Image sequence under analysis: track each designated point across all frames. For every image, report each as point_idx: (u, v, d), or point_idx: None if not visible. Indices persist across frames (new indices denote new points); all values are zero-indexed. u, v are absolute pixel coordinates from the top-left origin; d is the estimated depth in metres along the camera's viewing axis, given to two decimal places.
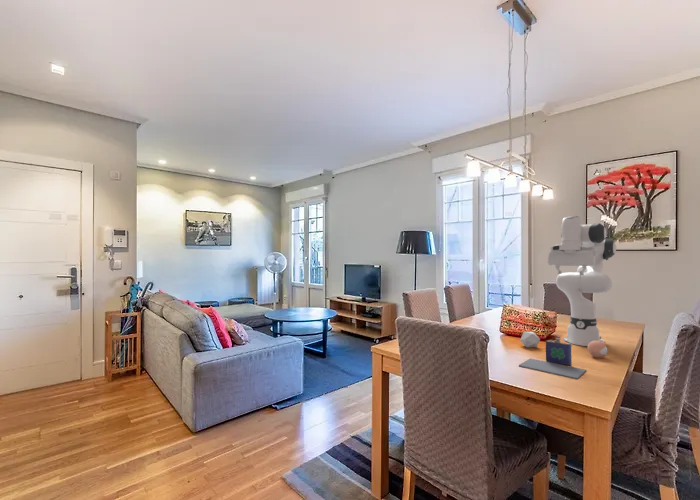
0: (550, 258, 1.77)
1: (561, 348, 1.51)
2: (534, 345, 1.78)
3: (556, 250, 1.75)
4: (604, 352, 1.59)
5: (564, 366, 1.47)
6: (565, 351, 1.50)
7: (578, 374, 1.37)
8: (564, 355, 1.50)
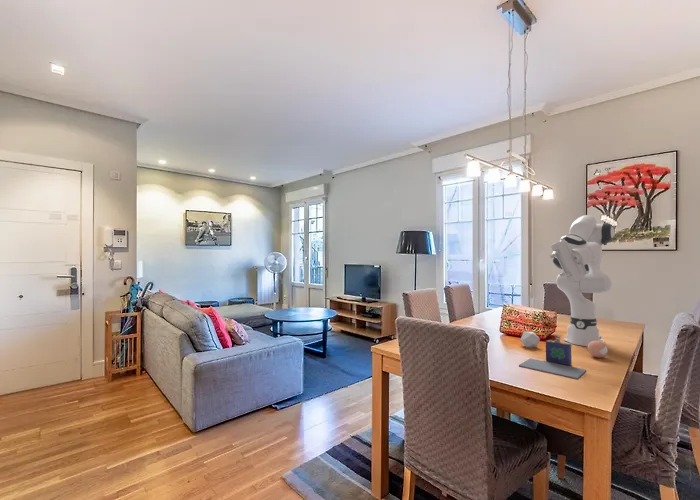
0: None
1: (561, 348, 1.51)
2: (534, 345, 1.78)
3: None
4: (604, 352, 1.59)
5: (564, 366, 1.47)
6: (565, 351, 1.50)
7: (578, 374, 1.37)
8: (564, 355, 1.50)
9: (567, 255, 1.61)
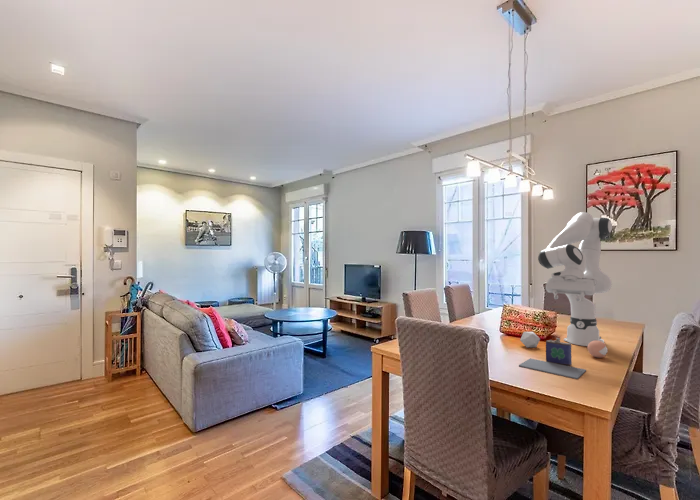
0: (549, 283, 1.72)
1: (561, 348, 1.51)
2: (534, 345, 1.78)
3: (557, 276, 1.72)
4: (604, 352, 1.59)
5: (564, 366, 1.47)
6: (565, 351, 1.50)
7: (578, 374, 1.37)
8: (564, 355, 1.50)
9: None
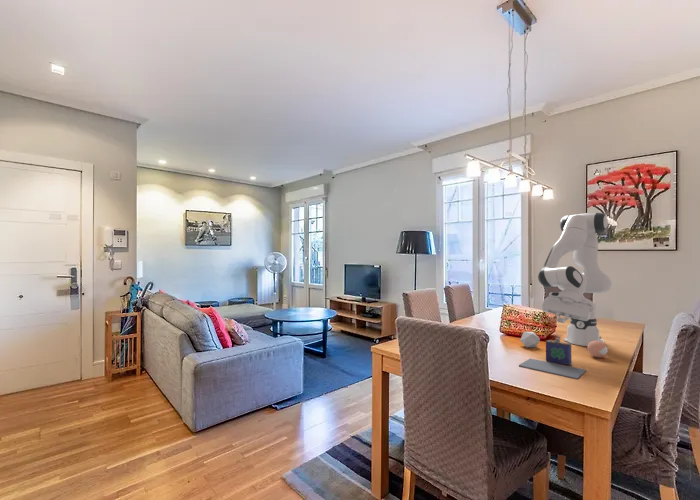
0: (545, 302, 1.72)
1: (561, 348, 1.51)
2: (534, 345, 1.78)
3: (554, 297, 1.71)
4: (604, 352, 1.59)
5: (564, 366, 1.47)
6: (565, 351, 1.50)
7: (578, 374, 1.37)
8: (564, 355, 1.50)
9: None
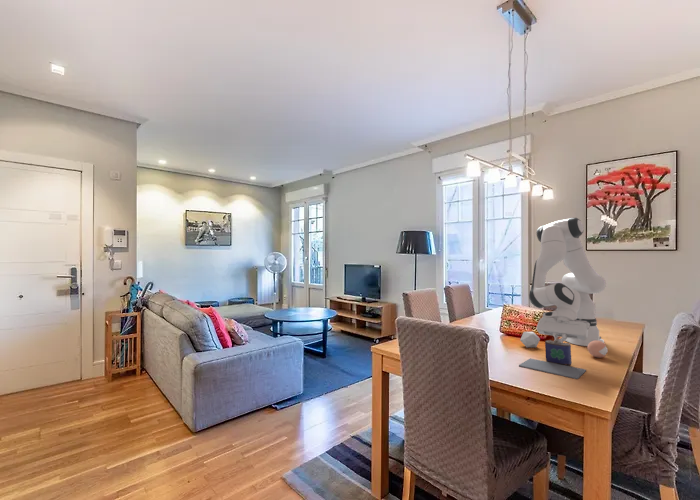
0: (540, 323, 1.63)
1: (560, 349, 1.50)
2: (534, 345, 1.78)
3: (548, 317, 1.62)
4: (604, 352, 1.59)
5: (564, 366, 1.47)
6: (565, 352, 1.49)
7: (578, 374, 1.37)
8: (564, 355, 1.49)
9: None
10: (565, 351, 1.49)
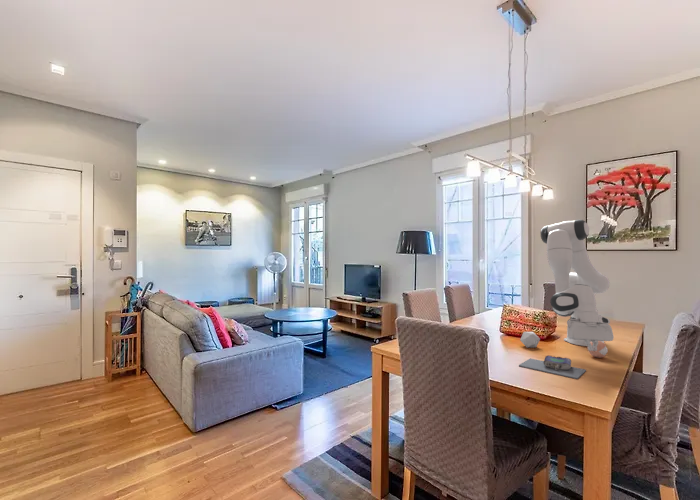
0: None
1: None
2: (534, 345, 1.78)
3: None
4: (604, 352, 1.59)
5: None
6: None
7: (578, 374, 1.37)
8: None
9: (587, 332, 1.52)
10: None
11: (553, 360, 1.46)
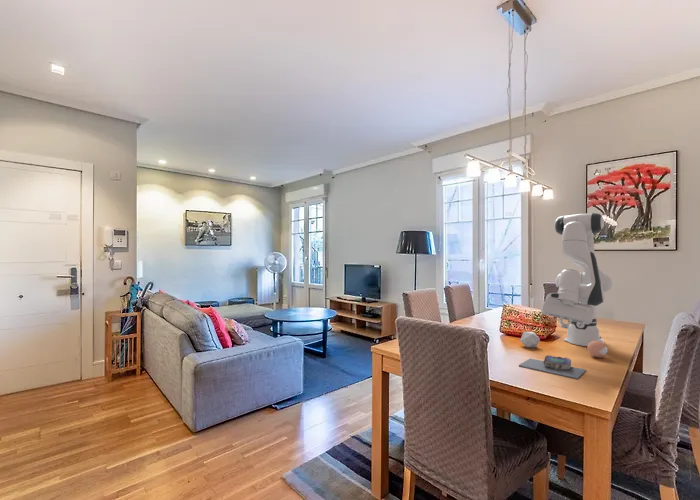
0: (546, 305, 1.60)
1: None
2: (534, 345, 1.78)
3: (554, 299, 1.60)
4: (604, 352, 1.59)
5: None
6: None
7: (578, 374, 1.37)
8: None
9: None
10: None
11: (553, 360, 1.46)
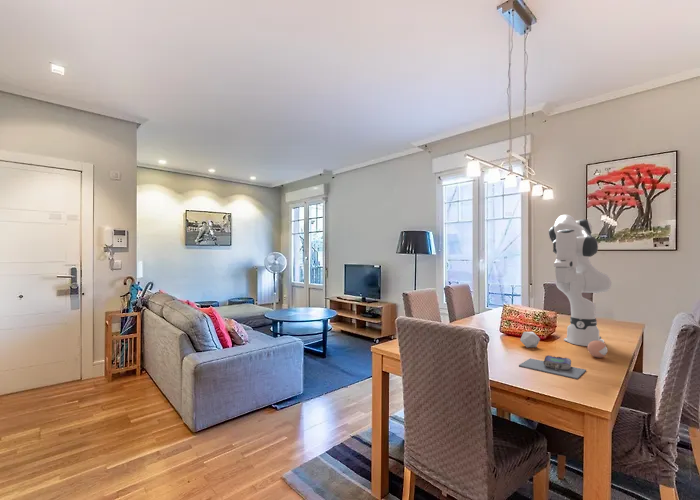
0: None
1: None
2: (534, 345, 1.78)
3: (569, 267, 1.58)
4: (604, 352, 1.59)
5: None
6: None
7: (578, 374, 1.37)
8: None
9: None
10: None
11: (553, 360, 1.46)
